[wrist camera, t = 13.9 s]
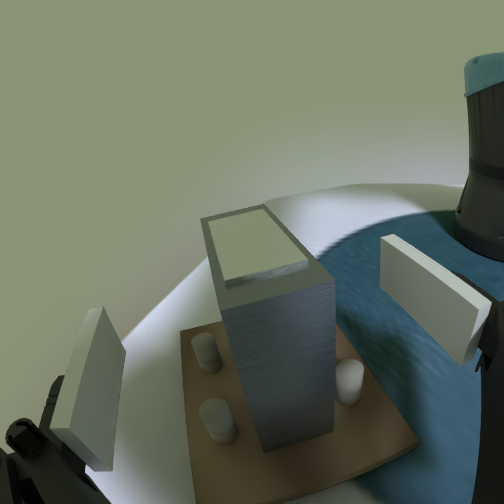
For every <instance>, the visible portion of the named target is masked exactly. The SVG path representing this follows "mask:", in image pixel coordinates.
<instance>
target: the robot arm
mask: <svg viewBox="0 0 504 504" xmlns="http://www.w3.org/2000/svg"><path fill="white" fill-rule="evenodd" d="M464 77H465V92H466V93H465V94H464V96H465V98H467V108H468V123H469V175H468V178H467V181H466V184H465V187H464V190H463V192H462V195H461V198H460V201H459V205H458V207H457V209H456V212H455V218H454V233H455V235H456V237H457V238H458V239H459V240H460V241H461V242H462V243H463V244H464V245H466V246H467V247H469V248H470V249H472V250H474V251H476V252H478V253H480V254H482V255H485V256H487V257H490V258H493V259H496V260H500V261H504V52H503V53H491V54H486V55H481V56H477V57H474V58H472V59H470V60H469V61H468V62H467V63H466V65H465V67H464ZM380 287H381V288H382V289H383V290H384V291H385V292H386V293H387V294H388V295H390V296H391V297H392V298H393V299H394V300H395V301H396V302H397V303H398V304H399V305H400V306H401V307H402V308H403V309H404V310H405V311H406V312H407V313H408V314H409V315H410V316H411V317H412V318H413V319H414V320H415V321H416V322H417V323H418V324H419V325H420V326H421V327H422V328H423V329H425V330H426V331H427V332H428V333H429V334H430V336H431V337H432V338H433V339H434V340H435V341H436V342H437V343H438V344H439V345H440V346H441V347H442V348H443V349H444V350H445V351H446V352H447V353H448V354H449V355H450V356H451V357H452V358H453V359H454V360H455V361H456V362H457V363H458V364H459V365H460V366H462V365H464V364H466V363H467V362H469V361H470V360H472V359H473V358H474V355H475V353H476V350H477V347H478V348H479V349H480V350H481V351H482V353H481V356H480V359H479V361H478V364H477V366H476V369H475V372H477V371H478V369H479V367H480V366H481V431H480V445H479V456H478V465H477V473H476V480H475V486H474V492H473V498H472V503H471V504H504V301H501V302H499V301H498V300H496V299H495V298H494V297H492V296H491V295H490V294H488V293H487V292H486V291H484V290H483V289H481V288H480V287H479V286H478V287H477V285H476V284H475V283H473V282H471V281H470V280H469V279H468V278H466V277H465V276H463V275H461V274H459V273H456V272H453V271H451V272H450V271H448V270H447V269H445V268H444V267H443V266H441V265H440V264H438V263H437V262H435V261H434V260H432V259H431V258H429V257H428V256H426V255H425V254H423V253H422V252H420V251H419V250H417V249H416V248H414V247H413V246H411V245H410V244H408V243H407V242H405V241H404V240H402V239H400V238H399V237H397V236H396V235H394V234H392V235H388V236H384V237H381V261H380ZM125 356H126V351H125V349H124V347H123V345H122V343H121V341H120V339H119V337H118V335H117V333H116V332H115V329H114V327H113V326H112V323H111V321H110V319H109V317H108V315H107V313H106V311H105V309H104V307H103V306H102V307H98V308H93V309H89V311H88V314H87V316H86V319H85V321H84V323H83V326H82V328H81V331H80V334H79V336H78V339H77V342H76V345H75V347H74V350H73V353H72V356H71V359H70V362H69V364H68V367H67V370H66V374H65V375H63V376H58V378H57V379H56V380H55V382H54V383H53V384H52V386H51V389H50V392H49V395H48V396H49V398H47V401H46V406H45V408H44V411H43V414H42V418H41V421H40V425H39V428H37V426H36V425H35V424H34V423H33V422H32V421H31V420H30V419H27V418H21V419H18V420H17V421H15V422H13V423H12V424H11V425H10V427H9V429H8V430H7V432H6V437H5V439H6V443H7V444H8V445H9V446H10V447H11V448H12V449H13V450H14V451H15V452H14V453H11V454H7V453H6V452H5V451H4V450H3V449H1V448H0V504H111V503H110V502H109V500H108V499H107V498H106V497H105V496H104V494H103V493H102V492H101V491H100V489H99V488H98V487H97V486H96V484H95V483H94V482H93V481H92V479H91V478H90V477H89V476H88V475H87V474H86V473H85V466H86V465H87V466H89V467H90V468H91V469H92V470H93V471H94V472H98V471H113V456H114V443H115V432H116V422H117V413H118V404H119V396H120V389H121V382H122V375H123V368H124V362H125Z"/></svg>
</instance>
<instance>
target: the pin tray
mask: <svg viewBox="0 0 504 504" xmlns="http://www.w3.org/2000/svg"><path fill="white" fill-rule="evenodd" d="M180 336H181V356H182V373H183V387H184V400H185V412H186V423H187V433H188V442H189V451H190V460H191V468H192V475H193V483H194V490H195V497H196V503H197V504H277V503H281V502H284V501H288V500H291V499H295V498H298V497H301V496H305V495H308V494H311V493H314V492H317V491H320V490H323V489H326V488H328V487H331V486H334V485H336V484H339V483H342V482H344V481H347V480H349V479H352V478H354V477H357V476H359V475H361V474H364V473H366V472H368V471H370V470H373V469H375V468H377V467H379V466H381V465H383V464H385V463H388V462H390V461H392V460H394V459H396V458H398V457H400V456H401V455H403V454H405V453H407V452H409V451H411V450H413V449H415V447H416V445H417V443H418V441H419V440H418V438H417V437H416V435H415V434H414V432H413V431H412V429H411V428H410V427H409V425H408V424H407V422H406V421H405V419H404V418H403V416H402V415H401V414H400V412H399V411H398V409H397V408H396V406H395V405H394V403H393V402H392V401H391V399H390V398H389V396H388V395H387V394H386V392H385V391H384V389H383V388H382V386H381V385H380V384H379V382H378V381H377V379H376V378H375V377H374V375H373V374H372V372H371V371H370V370H369V368H368V367H367V365H366V364H365V363H364V361H363V360H362V358H361V357H360V356H359V354H358V353H357V351H356V350H355V349H354V347H353V346H352V344H351V343H350V342H349V340H348V339H347V338H346V336H345V335H344V333H343V332H342V331H341V329H340V328H339V327H338V325H337V324H336V385H335V413H334V431H333V432H330V433H327V434H325V435H322V436H319V437H316V438H313V439H310V440H307V441H304V442H301V443H298V444H295V445H291V446H288V447H285V448H281V449H278V450H274V451H271V452H267V453H263V450H262V447H261V444H260V441H259V438H258V435H257V432H256V429H255V426H254V423H253V420H252V417H251V414H250V410H249V407H248V404H247V401H246V398H245V394H244V391H243V388H242V385H241V381H240V378H239V375H238V372H237V368H236V365H235V361H234V358H233V355H232V351H231V348H230V344H229V341H228V337H227V334H226V330H225V327H224V323H223V321H220V322H216V323H212V324H208V325H204V326H200V327H196V328H191V329H187V330H183V331H180Z"/></svg>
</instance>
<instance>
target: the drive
mask: <svg viewBox="0 0 504 504" xmlns="http://www.w3.org/2000/svg"><path fill="white" fill-rule="evenodd" d="M201 224H202V229H203V234H204V239H205V244H206V249H207V253H208V259H209V263H210V268H211V273H212V277H213V282H214V286H215V291H216V295H217V300H218V304H219V309H220V313H221V316H222V320H223V323H224V327H225V330H226V334H227V337H228V341H229V344H230V348H231V351H232V355H233V358H234V361H235V365H236V368H237V372H238V375H239V378H240V381H241V385H242V388H243V391H244V394H245V398H246V401H247V404H248V407H249V410H250V414H251V417H252V420H253V423H254V426H255V429H256V432H257V435H258V438H259V441H260V444H261V447H262V450H263V453H267V452H271V451H274V450H278V449H281V448H285V447H288V446H291V445H295V444H298V443H301V442H304V441H307V440H310V439H313V438H316V437H319V436H322V435H325V434H327V433H330V432H333V431H334V413H335V385H336V303H335V279H334V278H333V277H332V276H331V275H330V274H329V273H328V272H327V270H326V269H325V268H324V267H323V266H322V265H321V264H320V263H319V262H318V261H317V260H316V259H315V258H314V256H313V255H312V254H311V253H310V252H309V251H308V250H307V249H306V248H305V247H304V246H303V245H302V244H301V243H300V242H299V240H298V239H297V238H296V237H295V236H294V235H293V234H292V233H291V232H290V231H289V230H288V229H287V228H286V227H285V226H284V225H283V224H282V223H281V222H280V221H279V220H278V218H277V217H276V216H275V215H274V214H273V213H272V212H271V211H270V210H269V209H268V208H267V207H266V206H265V205H264V204H262V205H257V206H253V207H249V208H244V209H240V210H236V211H231V212H227V213H223V214H218V215H215V216H210V217H206V218H202V219H201Z"/></svg>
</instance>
